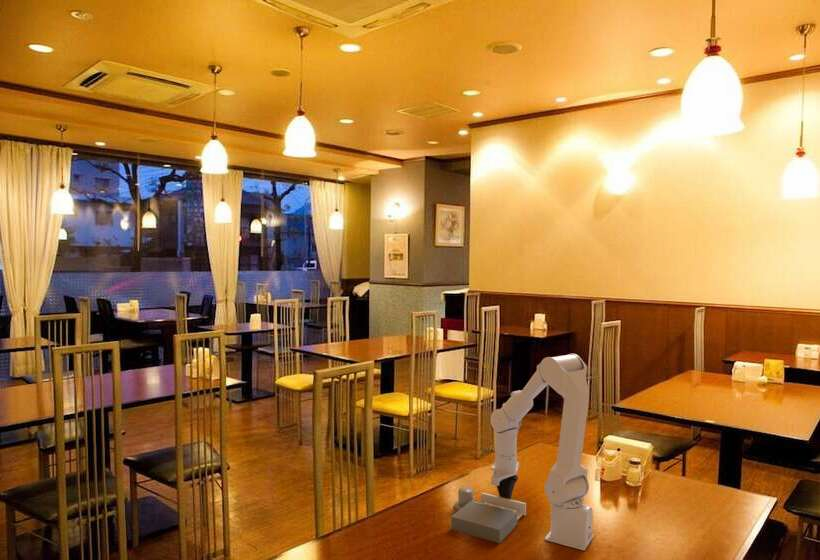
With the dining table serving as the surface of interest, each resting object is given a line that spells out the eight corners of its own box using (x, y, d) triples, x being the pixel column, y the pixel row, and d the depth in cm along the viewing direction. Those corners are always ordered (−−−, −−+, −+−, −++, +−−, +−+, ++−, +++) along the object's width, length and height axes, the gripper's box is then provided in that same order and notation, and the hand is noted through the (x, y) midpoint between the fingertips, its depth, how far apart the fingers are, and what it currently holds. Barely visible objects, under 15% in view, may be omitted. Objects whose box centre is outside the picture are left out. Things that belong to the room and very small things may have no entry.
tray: (525, 515, 151) (525, 503, 151) (509, 532, 142) (509, 519, 142) (482, 503, 158) (482, 492, 158) (463, 519, 149) (463, 507, 148)
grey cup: (480, 505, 157) (480, 488, 157) (470, 513, 152) (470, 496, 152) (460, 500, 160) (460, 484, 160) (450, 508, 155) (450, 491, 155)
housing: (517, 525, 145) (517, 511, 145) (499, 543, 136) (499, 529, 136) (470, 512, 152) (470, 500, 152) (451, 529, 143) (451, 516, 143)
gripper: (502, 443, 163) (502, 490, 164) (480, 458, 151) (480, 509, 151) (526, 447, 159) (526, 495, 160) (505, 463, 147) (505, 515, 148)
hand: (505, 502), depth 155 cm, fingers closed
